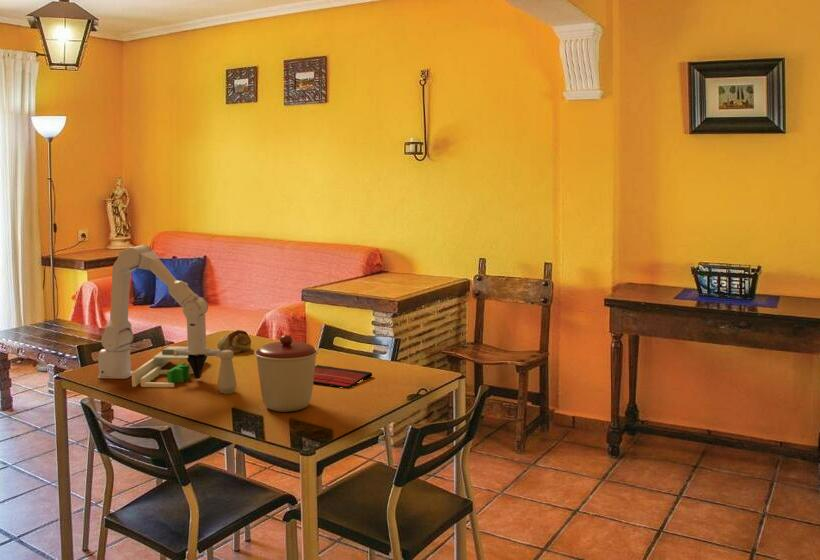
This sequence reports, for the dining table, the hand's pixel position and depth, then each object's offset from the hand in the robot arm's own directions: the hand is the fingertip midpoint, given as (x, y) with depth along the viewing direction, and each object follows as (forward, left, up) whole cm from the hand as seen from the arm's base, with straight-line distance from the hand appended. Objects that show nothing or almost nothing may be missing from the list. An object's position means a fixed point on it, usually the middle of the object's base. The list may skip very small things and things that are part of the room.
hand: (197, 377), depth 251 cm
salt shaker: (+13, -12, -1) cm, 18 cm away
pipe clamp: (-6, 0, -1) cm, 6 cm away
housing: (-11, +8, -1) cm, 14 cm away
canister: (+34, -25, -1) cm, 42 cm away
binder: (+43, +5, -2) cm, 43 cm away
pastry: (+1, +42, -1) cm, 43 cm away
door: (-11, +15, +4) cm, 20 cm away
